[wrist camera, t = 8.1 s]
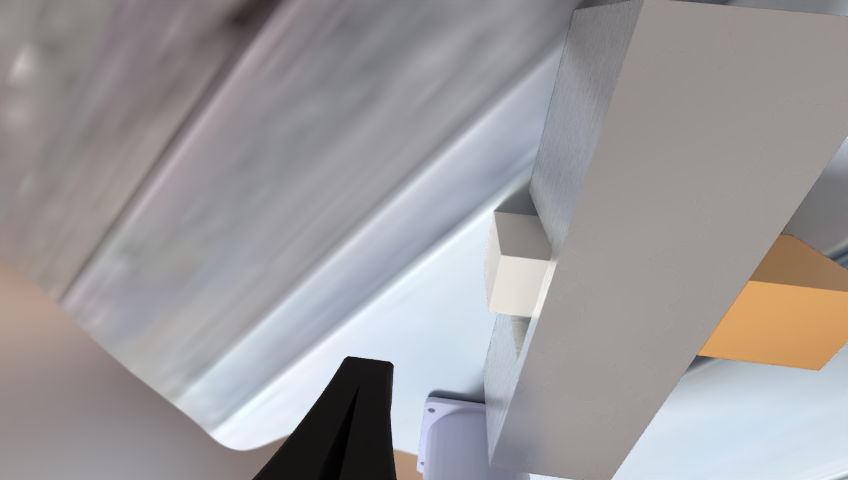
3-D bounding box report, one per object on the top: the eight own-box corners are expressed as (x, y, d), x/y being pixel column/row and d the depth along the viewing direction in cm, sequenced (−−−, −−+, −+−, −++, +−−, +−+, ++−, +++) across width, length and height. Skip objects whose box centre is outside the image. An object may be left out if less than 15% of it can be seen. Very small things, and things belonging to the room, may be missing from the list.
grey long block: (575, 383, 23) (607, 484, 18) (483, 371, 23) (489, 467, 18) (741, 25, 13) (924, 23, 8) (573, 9, 13) (644, -2, 8)
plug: (746, 300, 19) (818, 370, 15) (481, 268, 19) (486, 328, 16) (792, 235, 17) (890, 297, 13) (495, 201, 17) (504, 251, 14)
